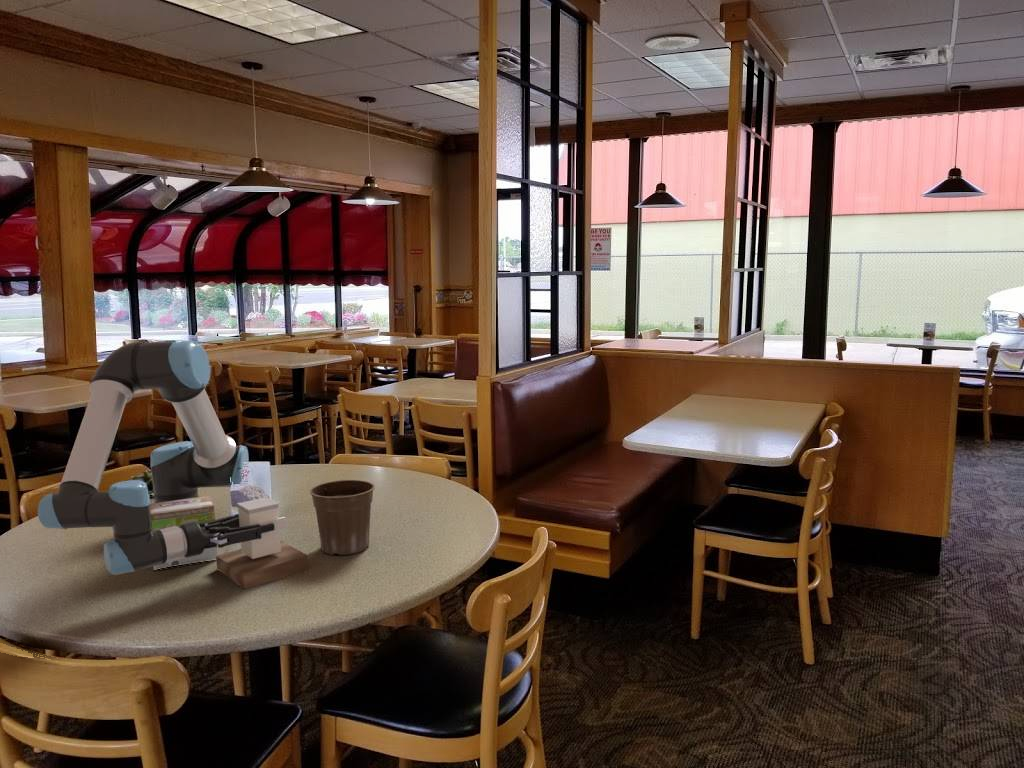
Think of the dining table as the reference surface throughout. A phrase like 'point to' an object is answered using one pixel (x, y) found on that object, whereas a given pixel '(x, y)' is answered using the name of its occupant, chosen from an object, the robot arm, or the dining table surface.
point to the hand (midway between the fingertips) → (278, 518)
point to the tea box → (184, 522)
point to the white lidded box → (253, 515)
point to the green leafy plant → (146, 480)
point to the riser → (261, 565)
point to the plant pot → (343, 515)
